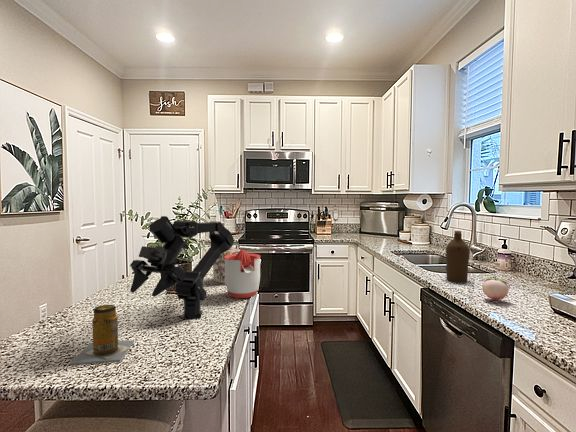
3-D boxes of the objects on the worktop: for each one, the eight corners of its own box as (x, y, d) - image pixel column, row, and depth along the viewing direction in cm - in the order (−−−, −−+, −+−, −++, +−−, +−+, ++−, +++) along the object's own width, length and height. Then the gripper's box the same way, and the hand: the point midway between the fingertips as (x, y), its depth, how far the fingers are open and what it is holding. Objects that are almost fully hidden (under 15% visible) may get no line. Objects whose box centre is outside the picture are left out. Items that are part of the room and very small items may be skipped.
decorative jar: (212, 281, 170) (212, 245, 169) (230, 277, 179) (230, 243, 178) (228, 285, 162) (227, 248, 162) (246, 280, 171) (245, 245, 170)
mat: (90, 344, 97) (90, 342, 97) (134, 341, 99) (134, 340, 99) (69, 364, 85) (69, 363, 85) (120, 361, 87) (120, 359, 87)
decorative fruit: (482, 302, 135) (482, 277, 134) (481, 296, 142) (482, 273, 142) (510, 305, 131) (510, 280, 130) (507, 299, 138) (508, 275, 137)
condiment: (108, 343, 97) (107, 302, 96) (130, 348, 93) (129, 305, 93) (84, 354, 90) (82, 309, 89) (107, 359, 87) (105, 314, 86)
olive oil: (473, 282, 167) (474, 231, 165) (454, 283, 165) (455, 232, 164) (459, 277, 177) (460, 229, 176) (440, 278, 175) (441, 230, 174)
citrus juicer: (230, 303, 134) (230, 253, 133) (220, 292, 150) (220, 247, 149) (267, 298, 141) (267, 251, 139) (254, 288, 156) (254, 245, 155)
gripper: (134, 234, 108) (103, 275, 99) (177, 237, 100) (147, 283, 91) (154, 255, 116) (127, 295, 106) (196, 259, 107) (170, 303, 98)
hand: (142, 294), depth 100 cm, fingers open, 9 cm apart
